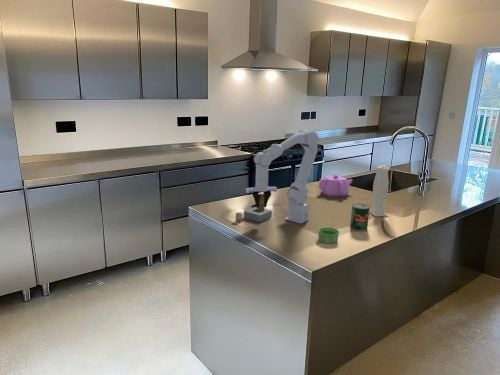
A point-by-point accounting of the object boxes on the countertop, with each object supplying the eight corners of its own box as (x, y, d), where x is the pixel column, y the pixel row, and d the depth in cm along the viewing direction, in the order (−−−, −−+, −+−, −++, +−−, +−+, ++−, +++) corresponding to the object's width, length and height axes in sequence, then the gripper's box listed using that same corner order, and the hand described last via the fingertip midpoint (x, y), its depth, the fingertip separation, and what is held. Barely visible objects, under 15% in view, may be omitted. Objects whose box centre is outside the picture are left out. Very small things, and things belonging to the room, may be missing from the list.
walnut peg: (265, 211, 174) (266, 194, 172) (260, 212, 172) (260, 195, 170) (261, 209, 177) (262, 193, 175) (256, 210, 175) (256, 194, 173)
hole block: (271, 217, 187) (271, 210, 186) (260, 222, 180) (260, 215, 179) (255, 212, 193) (255, 206, 192) (243, 217, 185) (243, 211, 184)
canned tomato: (357, 232, 171) (359, 209, 168) (346, 226, 177) (348, 204, 175) (370, 229, 174) (373, 207, 171) (359, 224, 181) (362, 202, 178)
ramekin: (318, 235, 166) (319, 226, 165) (339, 237, 163) (340, 228, 162) (316, 242, 158) (316, 233, 156) (337, 245, 155) (338, 236, 154)
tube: (256, 192, 217) (249, 205, 193) (265, 190, 215) (259, 202, 192) (259, 201, 218) (252, 214, 194) (268, 199, 216) (262, 212, 192)
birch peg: (243, 220, 181) (243, 213, 180) (239, 222, 179) (239, 214, 178) (238, 219, 183) (238, 211, 182) (234, 221, 180) (234, 213, 179)
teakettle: (316, 194, 230) (318, 175, 226) (325, 189, 244) (327, 170, 241) (343, 199, 221) (345, 179, 218) (351, 193, 236) (353, 174, 232)
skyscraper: (389, 217, 191) (396, 164, 184) (374, 218, 190) (380, 164, 183) (381, 212, 199) (387, 161, 192) (366, 212, 198) (372, 161, 191)
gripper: (249, 181, 165) (248, 210, 168) (279, 180, 169) (278, 208, 172) (244, 177, 171) (244, 205, 175) (274, 176, 175) (273, 203, 179)
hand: (260, 206), depth 174 cm, fingers closed on walnut peg, 3 cm apart
